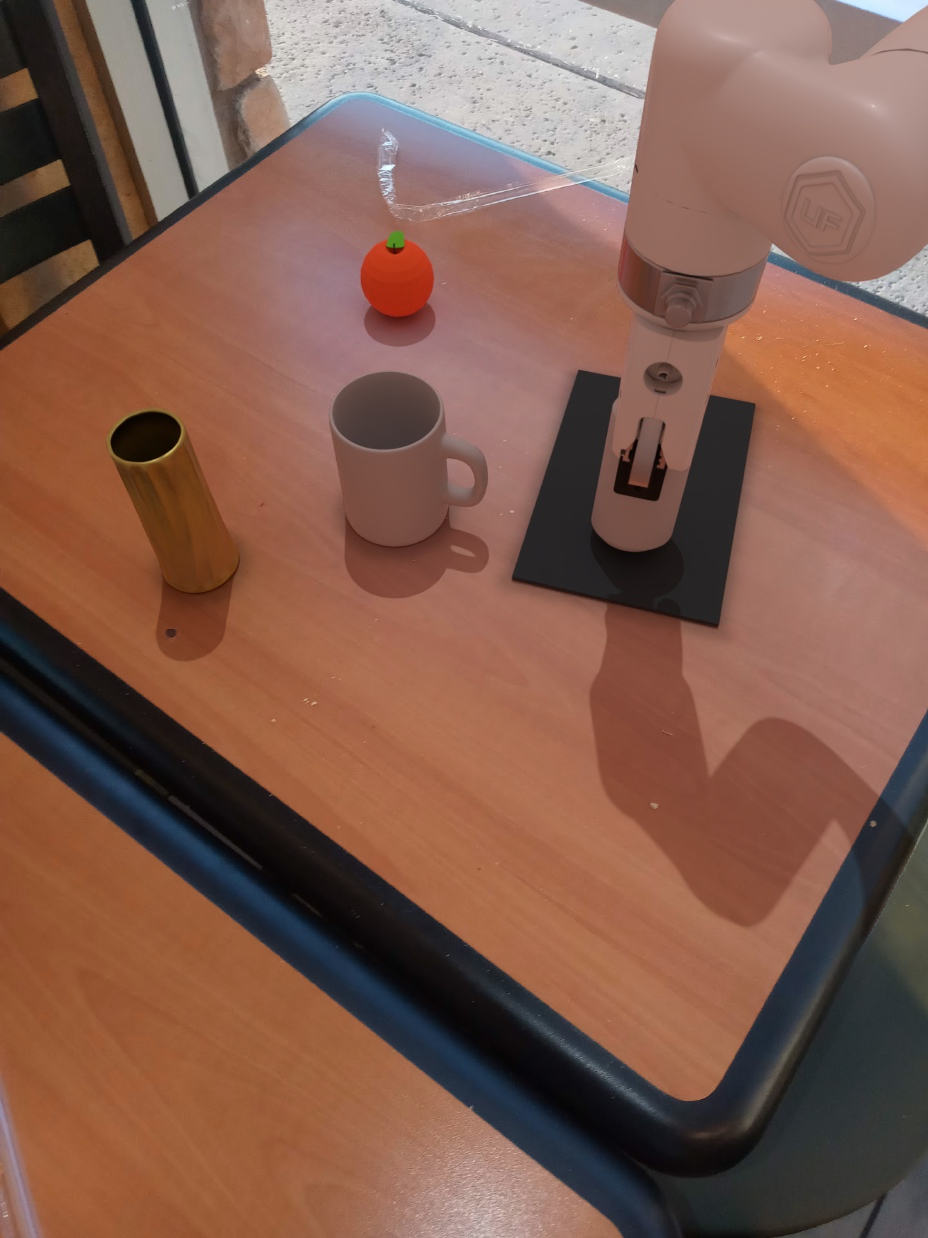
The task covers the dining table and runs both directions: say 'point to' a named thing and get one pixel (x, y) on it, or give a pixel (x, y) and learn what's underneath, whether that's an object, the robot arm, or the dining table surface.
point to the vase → (172, 499)
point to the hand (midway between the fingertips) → (637, 488)
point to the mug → (398, 458)
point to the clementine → (397, 276)
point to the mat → (653, 579)
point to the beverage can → (634, 506)
